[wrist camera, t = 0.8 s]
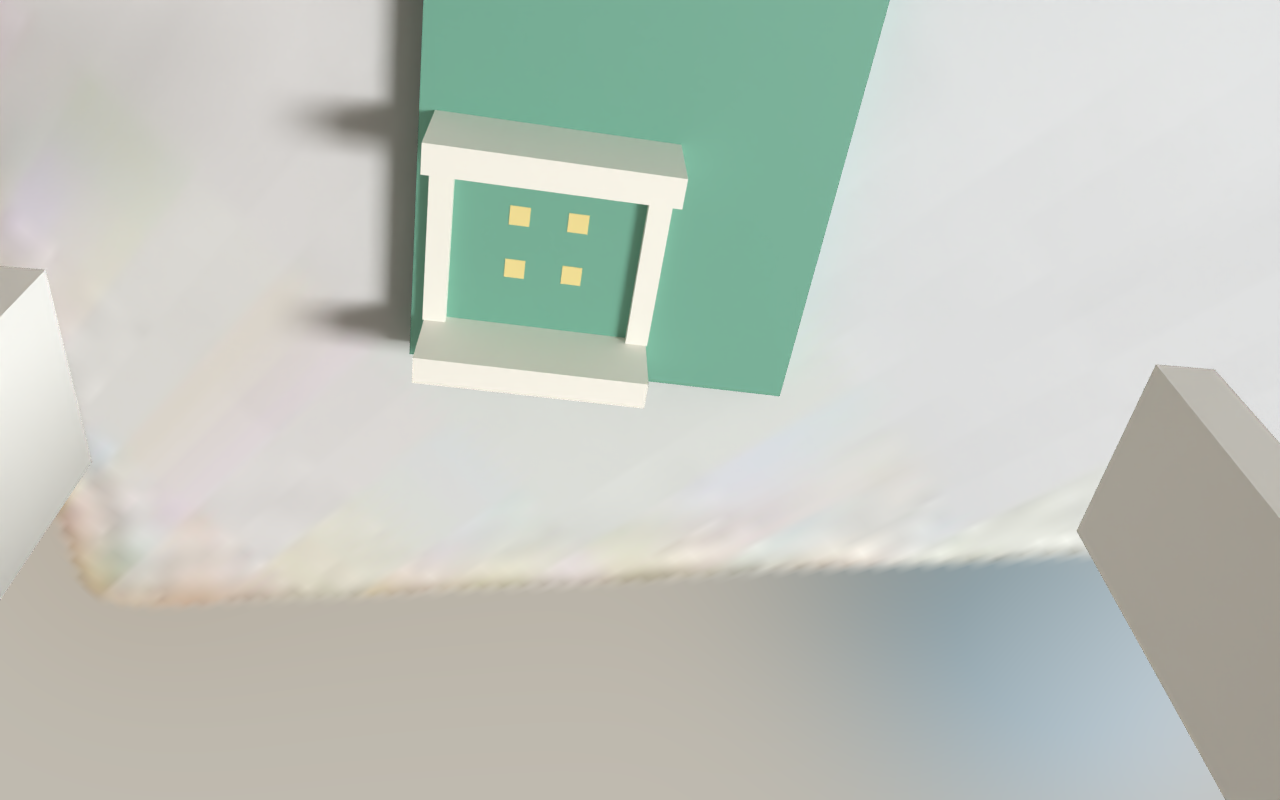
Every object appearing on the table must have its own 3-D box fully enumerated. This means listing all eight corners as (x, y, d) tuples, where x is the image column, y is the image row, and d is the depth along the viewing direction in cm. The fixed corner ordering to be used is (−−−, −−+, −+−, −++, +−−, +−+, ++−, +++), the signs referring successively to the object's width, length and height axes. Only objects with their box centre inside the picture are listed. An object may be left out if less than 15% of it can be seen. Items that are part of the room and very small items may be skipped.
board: (434, -132, 30) (412, -112, 26) (893, -55, 32) (929, -26, 28) (414, 337, 39) (396, 399, 35) (775, 379, 40) (791, 442, 37)
